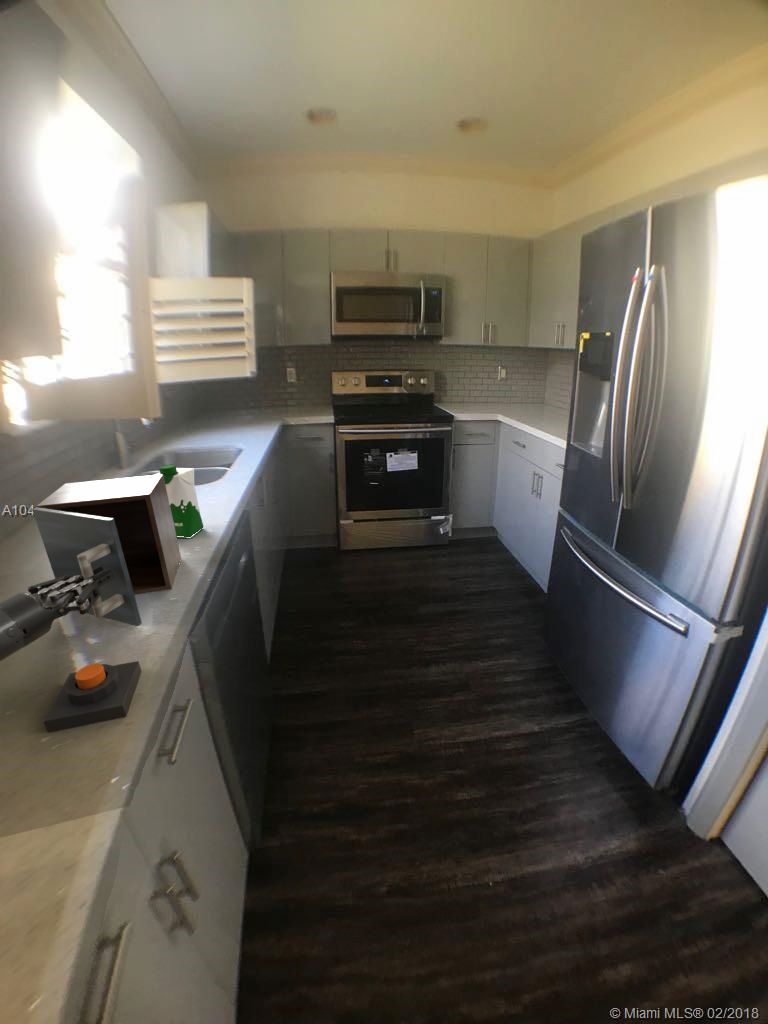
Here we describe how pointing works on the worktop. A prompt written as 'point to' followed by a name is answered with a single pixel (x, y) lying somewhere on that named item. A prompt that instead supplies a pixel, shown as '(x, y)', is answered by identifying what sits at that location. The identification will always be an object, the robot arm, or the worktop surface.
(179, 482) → the milk carton
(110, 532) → the door
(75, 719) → the panel
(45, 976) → the worktop surface
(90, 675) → the release button
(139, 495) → the cupboard
